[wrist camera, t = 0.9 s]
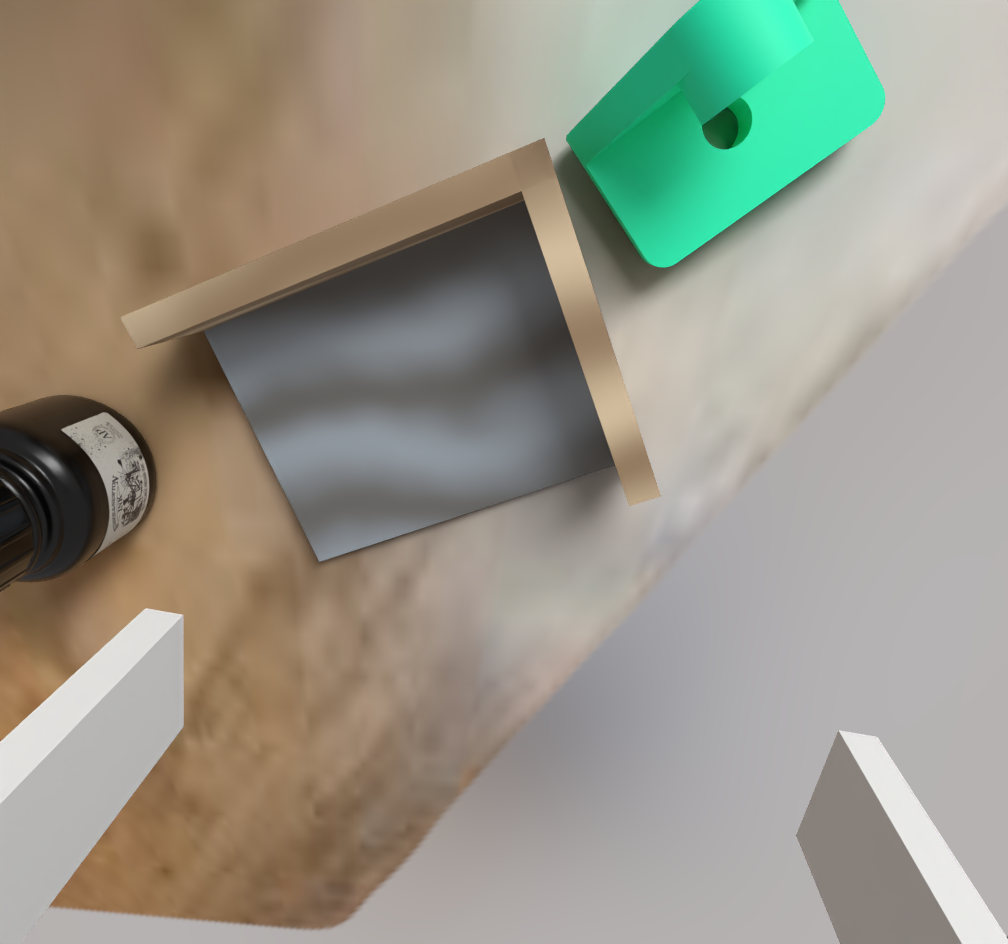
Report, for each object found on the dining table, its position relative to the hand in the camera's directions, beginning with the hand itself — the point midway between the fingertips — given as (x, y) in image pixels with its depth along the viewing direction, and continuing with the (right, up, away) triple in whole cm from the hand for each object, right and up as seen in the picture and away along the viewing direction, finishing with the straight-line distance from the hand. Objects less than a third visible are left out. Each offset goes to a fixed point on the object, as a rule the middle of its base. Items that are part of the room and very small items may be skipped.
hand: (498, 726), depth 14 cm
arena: (-4, +10, +24) cm, 26 cm away
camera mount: (+10, +22, +19) cm, 31 cm away
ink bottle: (-25, +6, +27) cm, 37 cm away
